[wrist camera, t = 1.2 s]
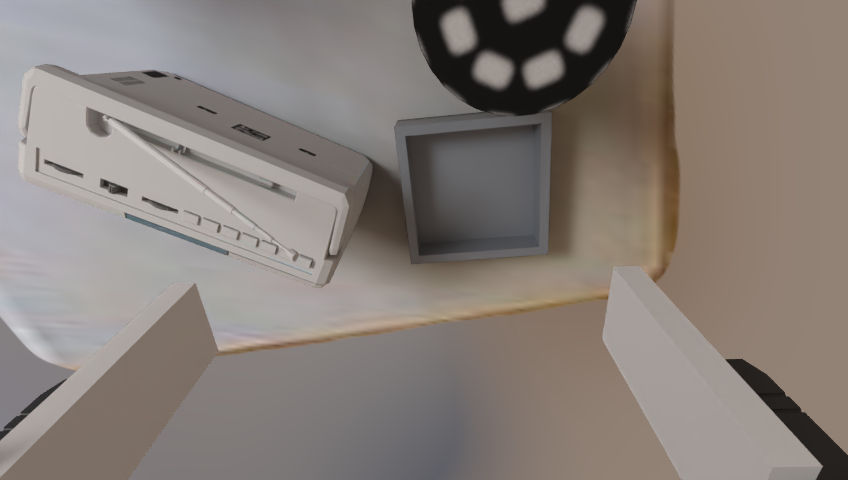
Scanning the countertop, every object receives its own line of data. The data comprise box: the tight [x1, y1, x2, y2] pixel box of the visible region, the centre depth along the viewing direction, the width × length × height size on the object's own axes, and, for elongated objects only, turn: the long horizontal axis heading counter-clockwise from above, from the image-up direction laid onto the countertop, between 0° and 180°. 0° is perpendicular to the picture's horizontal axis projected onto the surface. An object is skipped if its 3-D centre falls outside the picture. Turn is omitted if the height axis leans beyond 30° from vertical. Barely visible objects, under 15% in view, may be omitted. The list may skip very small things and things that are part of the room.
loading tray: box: [394, 110, 552, 264], centre depth 37 cm, size 13×13×4 cm
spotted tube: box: [412, 0, 637, 117], centre depth 25 cm, size 8×8×20 cm
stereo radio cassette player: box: [18, 64, 373, 288], centre depth 29 cm, size 21×8×20 cm, turn 67°
